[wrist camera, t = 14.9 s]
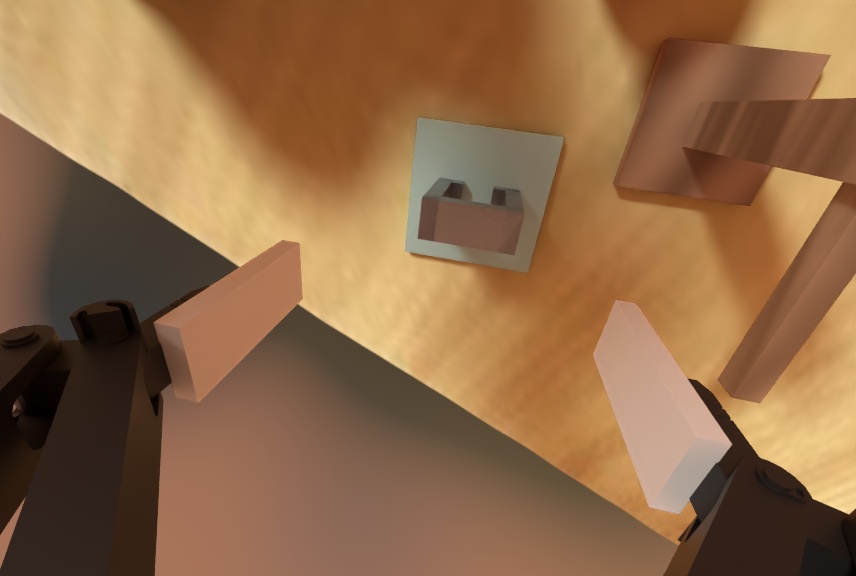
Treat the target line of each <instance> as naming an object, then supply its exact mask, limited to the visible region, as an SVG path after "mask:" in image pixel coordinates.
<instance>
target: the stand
mask: <svg viewBox="0 0 856 576" xmlns="http://www.w3.org/2000/svg"><path fill="white" fill-rule="evenodd" d="M830 56H831V55H825V54H816V53H806V52H797V51H787V50H778V49H768V48H759V47H749V46H740V45H731V44H721V43H712V42H702V41H693V40H683V39H674V38H669V39H667V40H664V41H663V42H662V45H661V48H660V51H659V54H658V57H657V60H656V63H655V65H654V68H653V71H652V74H651V77H650V80H649V83H648V86H647V88H646V91H645V94H644V97H643V100H642V103H641V106H640V109H639V111H638V114H637V117H636V120H635V123H634V126H633V129H632V132H631V134H630V137H629V140H628V143H627V146H626V149H625V152H624V155H623V158H622V160H621V163H620V166H619V169H618V172H617V175H616V178H615V181H614V183H613V184H615V185H616V186H618V187H625V188H632V189H638V190H645V191H652V192H659V193H665V194H672V195H679V196H685V197H692V198H699V199H705V200H712V201H719V202H726V203H732V204H739V205H746V206H750V205H751V203H752V202H753V200H754V198H755V196H756V194H757V192H758V190H759V188H760V187H761V185H762V183H763V181H764V179H765V177H766V175H767V174H768V172H769V170H770V168H771V166H773V167H778V168H782V169H787V170H792V171H796V172H801V173H805V174H810V175H815V176H819V177H824V178H828V179H833V180H838V181H842V182H843V183H842V185H841V186H840V188H839V190H838V191H837V193H836V194H835V196H834V197H833V199H832V201H831V202H830V204H829V205H828V207H827V208H826V210H825V212H824V213H823V215H822V216H821V218H820V219H819V221H818V223H817V224H816V226H815V227H814V229H813V230H812V232H811V234H810V235H809V237H808V238H807V240H806V241H805V243H804V245H803V246H802V248H801V249H800V251H799V252H798V254H797V256H796V257H795V259H794V260H793V262H792V263H791V265H790V267H789V268H788V270H787V271H786V273H785V274H784V276H783V278H782V279H781V281H780V282H779V284H778V285H777V287H776V289H775V290H774V292H773V293H772V295H771V296H770V298H769V300H768V301H767V303H766V304H765V306H764V308H763V309H762V311H761V312H760V314H759V315H758V317H757V319H756V320H755V322H754V323H753V325H752V326H751V328H750V330H749V331H748V333H747V334H746V336H745V337H744V339H743V341H742V342H741V344H740V345H739V347H738V348H737V350H736V352H735V353H734V355H733V356H732V358H731V359H730V361H729V363H728V364H727V366H726V367H725V369H724V370H723V372H722V374H721V375H720V377H719V378H718V381H719V382H720V384H721V385H722V386H723V387H724V389H725V390H726V391H727V392H728V394H729V395H730V396H731V397H732V398H737V399H742V400H747V401H751V402H756V403H761V401H762V400H763V399H764V397H765V396H766V394H767V393H768V392H769V390H770V389H771V388H772V386H773V385H774V384H775V382H776V381H777V380H778V378H779V377H780V375H781V374H782V373H783V371H784V370H785V369H786V367H787V366H788V365H789V363H790V362H791V360H792V359H793V358H794V356H795V355H796V354H797V352H798V351H799V350H800V348H801V347H802V346H803V344H804V343H805V341H806V340H807V339H808V337H809V336H810V335H811V333H812V332H813V331H814V329H815V328H816V327H817V325H818V324H819V322H820V321H821V320H822V318H823V317H824V316H825V314H826V313H827V312H828V310H829V309H830V308H831V306H832V305H833V303H834V302H835V301H836V299H837V298H838V297H839V295H840V294H841V293H842V291H843V290H844V288H845V287H846V286H847V284H848V283H849V282H850V280H851V279H852V278H853V276H854V275H855V274H856V98H845V99H808V97H809V95H810V93H811V91H812V89H813V88H814V86H815V84H816V82H817V80H818V78H819V76H820V74H821V73H822V71H823V69H824V67H825V65H826V63H827V61H828V60H829V58H830Z"/></svg>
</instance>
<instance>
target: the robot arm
mask: <svg viewBox="0 0 856 576" xmlns="http://www.w3.org/2000/svg"><path fill="white" fill-rule="evenodd" d="M302 299H303V296H302V278H301V261H300V244H299V243H296V242H290V241H285V240H282V241H280V242H279V243H277V244H276V245H274V246H273V247H271V248H269V249H268V250H266V251H265V252H263V253H262V254H260V255H258V256H257V257H255V258H254V259H252V260H251V261H249V262H247V263H246V264H244V265H243V266H241V267H240V268H238V269H237V270H235V271H234V272H232V273H230V274H229V275H227V276H226V277H224V278H222V279H221V280H219V281H218V282H216V283H215V284H213V285H211V286H205V287H202V288H200V289H197V290H194V291H191V292H190V293H188V294H187V295H185V296H183V297H182V298H180V300H177V301H175V302H174V303H172V304H171V305H170V306H167V307H165V308H164V309H162V310H161V311H159V312H157V313H156V314H154V315H153V316H151V317H149V318H148V319H146V320H144V321H143V322H141V323H139V321H138V318H137V315H136V312H135V309H134V306H133V304H132V303H130V302H128V301H124V300H106V301H101V302H97V303H93V304H90V305H87V306H84V307H82V308H80V309H78V310H77V311H75V312H74V313H73V314H72V315H71V316H70V319H71V322H72V324H73V327H74V329H75V331H76V334H77V336H78V338H79V340H76V341H75V340H69V341H59V339H58V337H57V335H56V333H55V331H54V329H53V328H52V327H50V326H47V325H33V326H22V327H18V328H14V329H10V330H8V331H6V332H4V333H1V334H0V534H1V533H2V531H3V530H4V528H5V527H6V525H7V524H8V522H9V521H10V519H11V518H12V516H13V515H14V513H15V512H16V510H17V509H18V507H19V506H20V504H21V503H22V501H23V500H24V498H25V497H26V498H25V501H24V504H23V507H22V509H21V512H20V515H19V518H18V521H17V524H16V526H15V529H14V532H13V535H12V538H11V540H10V543H9V546H8V549H7V552H6V555H5V558H4V560H3V563H2V566H1V569H0V576H155V557H156V538H157V537H156V536H157V517H158V498H159V477H160V457H161V439H162V419H163V397H162V394H161V391H162V390H163V389H164V388H166V387H167V386H168V385H169V384H170V383H171V384H172V387H173V391H174V394H175V397H176V398H180V399H184V400H188V401H193V402H197V403H199V402H200V401H201V400H202V399H203V398H204V397H205V396H206V395H207V394H208V393H209V392H210V391H211V390H212V389H213V388H214V387H215V386H216V385H217V384H218V383H219V381H221V379H223V378H224V377H225V376H226V375H227V374H228V373H229V372H230V371H231V370H232V369H233V368H234V367H235V366H236V364H238V363H239V362H240V361H241V360H242V359H243V358H244V357H245V356H246V355H247V354H248V353H249V352H250V351H251V350H252V349H253V348H254V347H255V346H256V345H257V344H258V343H259V342H260V341H261V340H262V339H263V338H264V337H265V336H266V335H267V334H268V332H270V331H271V330H272V329H273V328H274V327H275V326H276V325H277V324H278V323H279V322H280V321H281V320H282V319H283V318H284V317H285V316H286V315H287V314H288V313H289V312H290V311H291V310H292V309H293V308H294V307H295V306H296V305H297V304H298V303H299V302H300V301H301V300H302ZM593 357H594V360H595V363H596V365H597V368H598V371H599V374H600V376H601V379H602V382H603V384H604V387H605V390H606V392H607V395H608V398H609V401H610V403H611V406H612V409H613V411H614V414H615V417H616V420H617V422H618V425H619V428H620V430H621V433H622V436H623V438H624V441H625V444H626V447H627V449H628V452H629V455H630V457H631V460H632V463H633V466H634V468H635V471H636V474H637V476H638V479H639V482H640V485H641V487H642V490H643V493H644V495H645V498H646V501H647V503H648V506H649V508H653V509H658V510H662V511H666V512H671V513H675V514H680V513H681V511H682V510H683V509H684V507H685V506H686V505H687V503H688V502H689V501H690V502H691V504H692V506H693V508H694V510H695V512H696V514H697V516H696V518H695V519H694V520H693V521H692V523H691V524H690V525H689V526H688V528H687V529H686V530H685V531H684V533H683V534H682V535H681V536H680V538H679V539H678V540H679V541H680V542H681V543H680V545H679V547H678V549H677V551H676V553H675V555H674V556H673V558H672V561H671V562H670V564H669V566H668V568H667V570H666V572H665V574H664V575H663V576H856V509H855V510H854V511H853V512H852V513H851V514H846V513H844V512H842V511H839V510H837V509H835V508H833V507H830V506H828V505H826V504H823V503H821V502H819V501H816V500H814V499H812V497H811V495H810V494H809V492H808V491H807V489H806V488H805V486H804V485H803V484H801V483H800V482H799V481H798V480H797V479H796V478H795V477H794V476H793V475H791V474H790V473H789V472H787V471H786V470H784V469H783V468H781V467H780V466H778V465H776V464H774V463H772V462H770V461H768V460H765V459H761V458H760V457H759V456H758V455H757V453H756V452H755V451H754V449H753V448H752V446H751V445H750V444H749V442H748V441H747V440H746V438H745V437H744V436H743V434H742V433H741V431H740V430H739V429H738V427H737V426H736V425H735V423H734V422H733V421H731V420H730V416H729V415H728V414H727V412H726V411H725V410H724V409H722V406H721V404H720V403H719V401H718V400H717V399H716V397H715V396H714V395H713V393H712V392H710V391H709V390H708V389H707V388H706V387H704V386H703V385H702V384H701V383H700V382H698V381H697V380H692V379H687V377H686V376H685V374H684V373H683V371H682V370H681V369H680V367H679V366H678V364H677V363H676V361H675V360H674V358H673V357H672V355H671V354H670V352H669V351H668V349H667V348H666V346H665V345H664V344H663V342H662V341H661V339H660V338H659V336H658V335H657V333H656V332H655V330H654V329H653V327H652V326H651V324H650V323H649V322H648V320H647V319H646V317H645V316H644V314H643V313H642V311H641V310H640V308H639V307H638V305H637V304H636V303H632V302H626V301H621V300H615V303H614V305H613V308H612V310H611V312H610V315H609V317H608V320H607V322H606V324H605V327H604V329H603V332H602V334H601V336H600V339H599V341H598V344H597V346H596V348H595V351H594V353H593ZM14 404H15V406H16V407H17V408H16V409H15V410H14V411H13V405H14ZM12 411H13V412H12Z"/></svg>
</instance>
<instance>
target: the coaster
mask: <svg viewBox="0 0 856 576" xmlns="http://www.w3.org/2000/svg"><path fill="white" fill-rule="evenodd" d="M563 141H564V137H561V136H553V135H546V134H539V133H531V132H524V131H517V130H510V129H502V128H495V127H488V126H481V125H473V124H466V123H459V122H451V121H444V120H437V119H430V118H422V117H417V126H416V137H415V148H414V159H413V169H412V180H411V191H410V202H409V212H408V223H407V234H406V245H405V251H406V252H411V253H417V254H423V255H428V256H434V257H439V258H445V259H451V260H456V261H462V262H467V263H473V264H479V265H484V266H490V267H495V268H501V269H507V270H512V271H518V272H523V273H528V271H529V267H530V263H531V260H532V256H533V252H534V249H535V245H536V241H537V238H538V234H539V230H540V226H541V223H542V219H543V215H544V212H545V208H546V204H547V201H548V197H549V193H550V189H551V186H552V182H553V178H554V175H555V171H556V167H557V164H558V160H559V156H560V152H561V149H562V145H563ZM439 178H446V179H452V180H459V181H464V186H463V192H462V198H461V200H467V201H473V202H480V203H486V204H490V203H491V198H492V193H493V188H494V186H498V187H504V188H511V189H517V190H520V195H521V200H522V204H523V209H524V213H525V215H524V219H523V223H522V227H521V231H520V235H519V239H518V243H517V247H516V251H515V256H514V255H508V254H502V253H497V252H491V251H485V250H479V249H474V248H468V247H462V246H456V245H451V244H445V243H439V242H433V241H428V240H422V239H418V229H419V220H420V211H421V202H422V197H423V196H424V195H425V193H426V192H427V191H428V190H429V189H430V188H431V187H432V185H433V184H434V183H435V182H436V181H437V180H438V179H439Z"/></svg>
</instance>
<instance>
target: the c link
mask: <svg viewBox="0 0 856 576" xmlns="http://www.w3.org/2000/svg"><path fill="white" fill-rule="evenodd" d="M463 186H464V181H459V180H452V179H446V178H439V179H438V180H437V181H436V182H435V183H434V184H433V185H432V187H431V188H430V189H429V190H428V191H427V192H426V193H425V195H424V196H423V197H422V202H421V211H420V220H419V229H418V239H422V240H428V241H433V242H439V243H445V244H451V245H456V246H462V247H468V248H474V249H479V250H485V251H491V252H497V253H502V254H508V255H514V256H515V251H516V247H517V243H518V239H519V235H520V231H521V227H522V223H523V219H524V215H525V213H524V209H523V204H522V200H521V195H520V190H517V189H511V188H504V187H498V186H494V188H493V193H492V198H491V203H490V204H486V203H480V202H473V201H467V200H461V198H462V192H463Z"/></svg>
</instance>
